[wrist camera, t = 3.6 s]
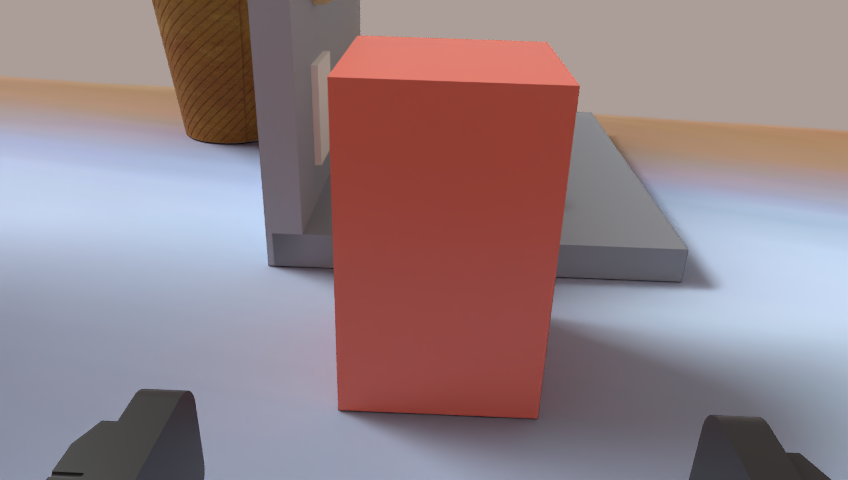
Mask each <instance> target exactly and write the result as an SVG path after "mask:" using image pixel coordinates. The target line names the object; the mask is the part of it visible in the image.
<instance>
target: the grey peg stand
mask: <svg viewBox="0 0 848 480" xmlns="http://www.w3.org/2000/svg"><path fill="white" fill-rule="evenodd" d="M247 1H248V14H249V26H250V39H251V52H252V64H253V77H254V90H255V102H256V115H257V127H258V140H259V153H260V165H261V178H262V190H263V203H264V216H265V228H266V241H267V254H268V265H272V266H297V267H322V268H334V264H333V234H332V203H331V173H330V143H329V112H328V82H327V77H328V75H329V74H330V73H331V71H332V70H333V68H334V67H335V66H336V64H337V63H338V62H339V60H340V59H341V57H342V56H343V55H344V53H345V52H346V51H347V49H348V48H349V46H350V45H351V44H352V42H353V41H354V40H355V38H356V37H357V36H360V0H247ZM687 253H688V248H687V247H686V246H685V244H684V243H683V241H682V240H681V239H680V237H679V236H678V234H677V233H676V231H675V230H674V229H673V227H672V226H671V224H670V223H669V222H668V220H667V219H666V217H665V216H664V214H663V213H662V212H661V210H660V209H659V207H658V206H657V205H656V203H655V202H654V200H653V199H652V197H651V196H650V195H649V193H648V192H647V190H646V189H645V188H644V186H643V185H642V183H641V182H640V180H639V179H638V178H637V176H636V175H635V173H634V172H633V171H632V169H631V168H630V166H629V165H628V163H627V162H626V161H625V159H624V158H623V156H622V155H621V154H620V152H619V151H618V149H617V148H616V146H615V145H614V144H613V142H612V141H611V139H610V138H609V137H608V135H607V134H606V132H605V131H604V129H603V128H602V127H601V125H600V124H599V122H598V121H597V120H596V118H595V117H594V115H593V114H592V113H590V112H576V120H575V128H574V136H573V143H572V151H571V159H570V167H569V175H568V183H567V191H566V199H565V207H564V215H563V223H562V231H561V239H560V247H559V255H558V263H557V271H556V277H574V278H599V279H624V280H649V281H674V282H681V281H682V276H683V271H684V267H685V262H686V257H687Z"/></svg>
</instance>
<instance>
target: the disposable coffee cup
mask: <svg viewBox="0 0 848 480" xmlns="http://www.w3.org/2000/svg"><path fill="white" fill-rule="evenodd" d="M152 2H153V6H154V10H155V14H156V18H157V22H158V26H159V29H160V34H161V37H162V41H163V45H164V48H165V52H166V57H167V60H168V65H169V68H170V72H171V76H172V79H173V83H174V87H175V91H176V95H177V99H178V103H179V106H180V110H181V114H182V118H183V122H184V126H185V130H186V134H187V135H188V136H190V137H191V138H194V139H197V140H200V141H204V142H213V143H244V142H252V141H258V127H257V115H256V102H255V90H254V77H253V64H252V52H251V39H250V26H249V14H248V1H247V0H152Z"/></svg>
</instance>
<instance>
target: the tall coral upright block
mask: <svg viewBox="0 0 848 480" xmlns="http://www.w3.org/2000/svg"><path fill="white" fill-rule="evenodd" d="M327 82H328V112H329V143H330V173H331V203H332V234H333V264H334V294H335V325H336V355H337V385H338V410H349V411H372V412H395V413H418V414H441V415H464V416H487V417H510V418H533V419H538V413H539V406H540V398H541V390H542V382H543V374H544V366H545V358H546V350H547V342H548V334H549V326H550V318H551V310H552V302H553V294H554V286H555V278H556V271H557V263H558V255H559V247H560V239H561V231H562V223H563V215H564V207H565V199H566V191H567V183H568V175H569V167H570V159H571V151H572V143H573V136H574V128H575V120H576V112H577V104H578V96H579V88H580V86H579V84H578V83H577V81H576V80H575V79H574V77H573V76H572V75H571V73H570V72H569V71H568V69H567V68H566V67H565V65H564V64H563V63H562V61H561V60H560V59H559V57H558V56H557V55H556V53H555V52H554V51H553V49H552V48H551V47H550V45H549V44H548V43H547V42H531V41H501V40H472V39H471V40H470V39H442V38H412V37H383V36H357V37H356V38H355V40H354V41H353V42H352V44H351V45H350V46H349V48H348V49H347V51H346V52H345V53H344V55H343V56H342V57H341V59H340V60H339V62H338V63H337V64H336V66H335V67H334V68H333V70H332V71H331V73H330V74H329V75H328V77H327Z"/></svg>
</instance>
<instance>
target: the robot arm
mask: <svg viewBox="0 0 848 480" xmlns="http://www.w3.org/2000/svg"><path fill="white" fill-rule="evenodd" d="M46 480H204V459H203V452H202V445H201V438H200V432H199V425H198V418H197V411H196V404H195V399H194V396H193V394H192V393H191V392H190V391H182V390H159V389H141V390H139V391H138V392H137V393H136V394H135V395H134V397H133V398H132V400H131V402H130V403H129V405H128V406H127V408H126V409H125V411H124V412H123V414H122V415H121V417H120V418H119V420H118V421H101V422H100V423H98V424H97V425H96V426H94V427H93V428H92V429H90V430H89V431H88V432H86V433H85V434H84V435H83V436H81V437H80V438H79V439H77V440H76V441H75V442H73V443H72V444H71V445H70V447H69V448H68V450H67V451H66V453H65V454H64V455H63V457H62V458H61V460H60V461H59V462H58V464H57V465H56V467H55V468H54V470H53V471H52V476H51V477H48V478H47V479H46ZM689 480H831V479H830V478H828V477H827V476H826V475H825V474H824V473H823V472H821V471H820V470H819V469H818V468H817V467H815V466H814V465H813V464H812V463H811V462H810V461H808V460H807V459H806V458H805V457H804V456H802V455H801V454H800V453H786V452H785V451H784V449H783V447H782V446H781V444H780V443H779V441H778V439H777V438H776V436H775V435H774V433H773V431H772V430H771V428H770V426H769V425H768V424H767V422H766V421H765V420H764V419H762V418H760V417H746V416H723V415H710V416H708V417H707V418H706V420H705V422H704V424H703V427H702V431H701V435H700V439H699V443H698V447H697V451H696V454H695V458H694V462H693V466H692V470H691V474H690V478H689Z"/></svg>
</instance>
